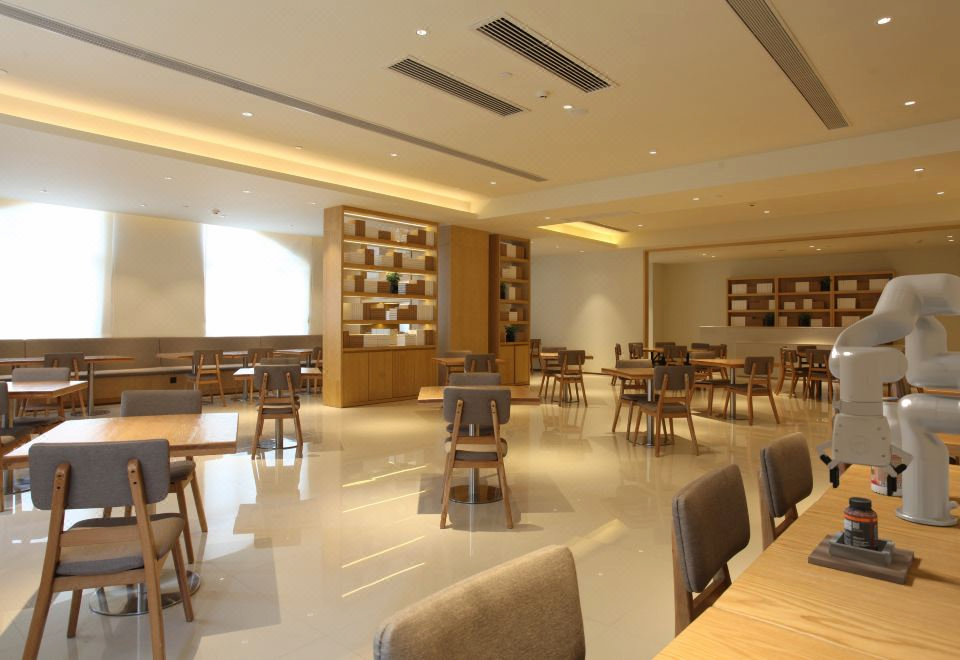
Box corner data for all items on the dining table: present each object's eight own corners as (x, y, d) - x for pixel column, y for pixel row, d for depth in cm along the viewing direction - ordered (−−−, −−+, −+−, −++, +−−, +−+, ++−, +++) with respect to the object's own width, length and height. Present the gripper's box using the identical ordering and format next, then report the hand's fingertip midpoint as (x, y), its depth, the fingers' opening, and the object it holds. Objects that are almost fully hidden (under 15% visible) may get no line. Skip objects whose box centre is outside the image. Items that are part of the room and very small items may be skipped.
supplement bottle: (873, 550, 125) (873, 496, 125) (882, 560, 119) (882, 504, 119) (841, 547, 127) (840, 494, 127) (848, 557, 121) (848, 501, 121)
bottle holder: (827, 539, 135) (827, 523, 135) (914, 557, 124) (913, 539, 124) (808, 562, 121) (808, 544, 121) (903, 584, 111) (903, 564, 111)
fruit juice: (891, 498, 169) (890, 399, 169) (863, 489, 178) (862, 396, 178) (918, 496, 171) (917, 399, 171) (889, 487, 180) (888, 395, 180)
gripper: (810, 407, 126) (811, 487, 126) (910, 414, 115) (911, 502, 115) (818, 403, 132) (819, 480, 132) (914, 410, 120) (915, 493, 120)
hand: (862, 490), depth 123 cm, fingers open, 9 cm apart
